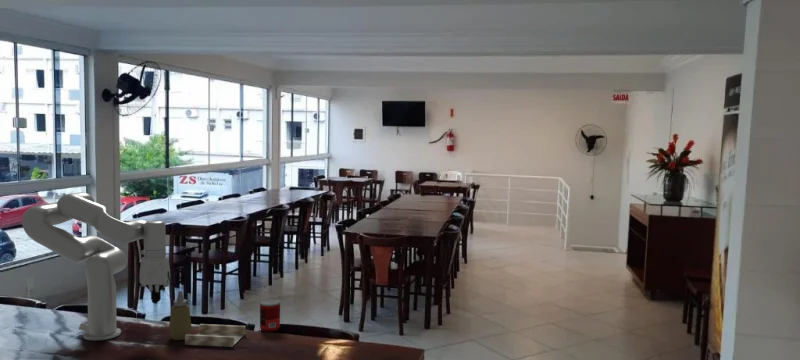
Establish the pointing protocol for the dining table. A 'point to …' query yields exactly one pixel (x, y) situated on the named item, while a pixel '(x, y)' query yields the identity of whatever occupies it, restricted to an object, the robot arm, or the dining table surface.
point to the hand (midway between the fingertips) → (155, 301)
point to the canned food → (269, 315)
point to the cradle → (216, 335)
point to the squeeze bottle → (180, 318)
